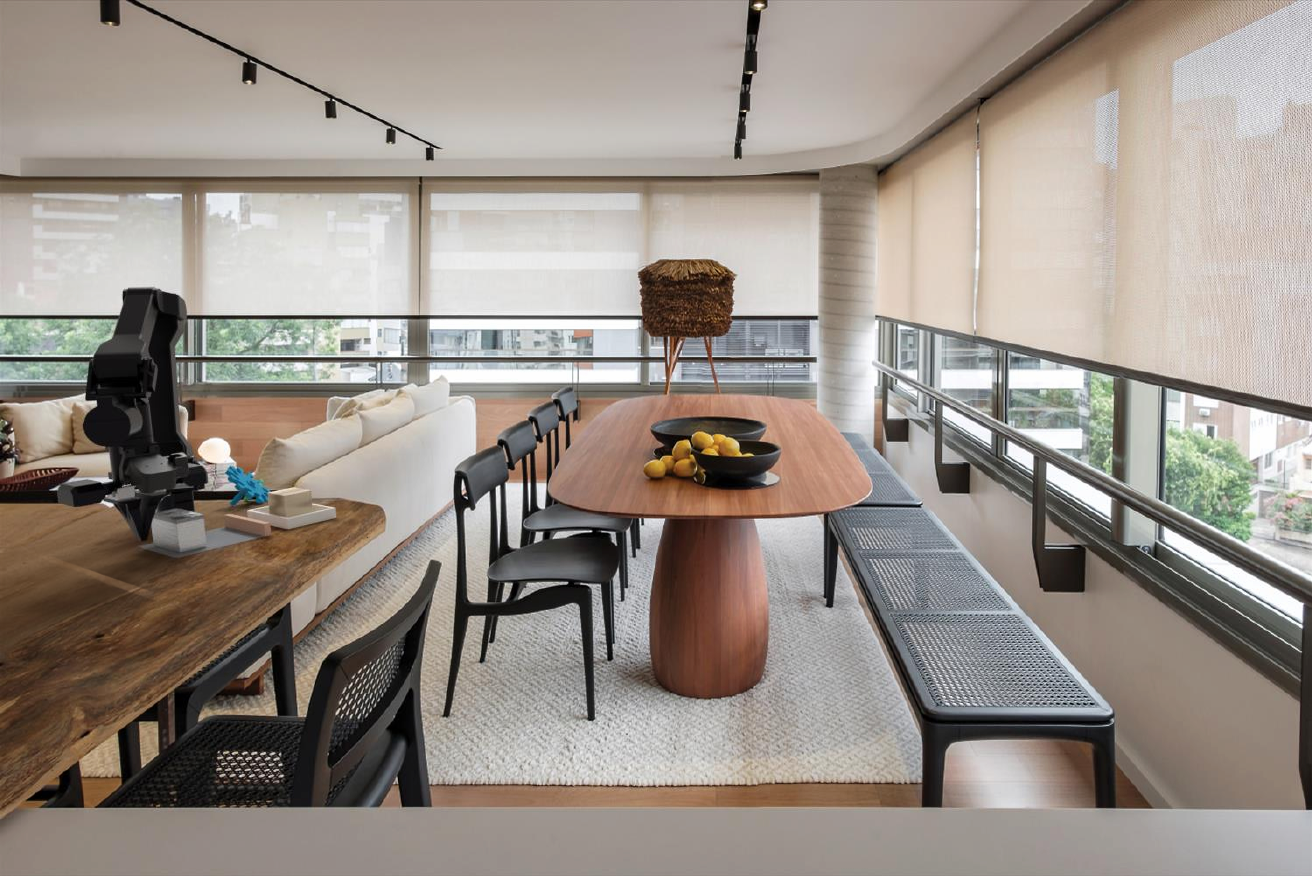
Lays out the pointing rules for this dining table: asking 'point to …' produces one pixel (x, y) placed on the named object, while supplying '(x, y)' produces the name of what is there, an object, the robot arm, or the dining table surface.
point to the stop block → (290, 502)
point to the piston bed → (223, 535)
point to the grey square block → (178, 530)
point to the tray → (316, 516)
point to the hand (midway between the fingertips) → (142, 540)
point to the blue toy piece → (246, 486)
